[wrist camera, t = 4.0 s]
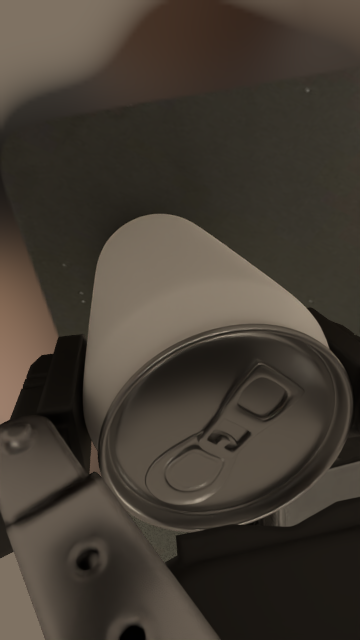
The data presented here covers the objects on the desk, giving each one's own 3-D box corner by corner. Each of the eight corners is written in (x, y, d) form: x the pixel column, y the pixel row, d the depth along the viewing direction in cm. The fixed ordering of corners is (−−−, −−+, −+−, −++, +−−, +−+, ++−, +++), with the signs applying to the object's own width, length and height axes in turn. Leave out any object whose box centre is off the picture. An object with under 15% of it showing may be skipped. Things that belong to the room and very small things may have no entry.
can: (70, 291, 17) (11, 500, 7) (143, 183, 16) (215, 227, 5) (170, 349, 20) (243, 568, 9) (242, 260, 18) (425, 397, 8)
